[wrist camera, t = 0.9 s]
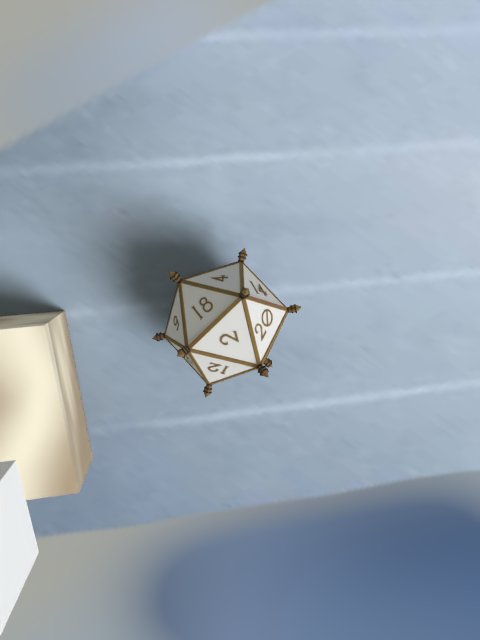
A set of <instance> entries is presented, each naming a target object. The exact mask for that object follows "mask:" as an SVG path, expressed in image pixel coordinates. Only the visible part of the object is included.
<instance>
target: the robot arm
mask: <svg viewBox="0 0 480 640" xmlns="http://www.w3.org/2000/svg"><path fill="white" fill-rule="evenodd" d="M38 553H39V551H38V547H37V543H36V539H35V535H34V531H33V527H32V523H31V519H30V515H29V511H28V507H27V503H26V499H25V495H24V491H23V487H22V483H21V479H20V475H19V471H18V467H17V463H16V460H12V461H4V462H0V635H1V633H2V631H3V629H4V626H5V624H6V622H7V620H8V618H9V616H10V613H11V611H12V609H13V607H14V605H15V603H16V600H17V598H18V596H19V594H20V592H21V589H22V587H23V585H24V583H25V581H26V579H27V577H28V574H29V572H30V570H31V568H32V566H33V564H34V561H35V559H36V557H37V555H38Z"/></svg>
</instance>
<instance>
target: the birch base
mask: <svg viewBox="0 0 480 640" xmlns="http://www.w3.org/2000/svg"><path fill="white" fill-rule="evenodd" d="M92 459H93V457H92V451H91V446H90V441H89V436H88V430H87V425H86V420H85V415H84V409H83V404H82V399H81V394H80V388H79V383H78V378H77V373H76V367H75V362H74V357H73V352H72V346H71V341H70V336H69V331H68V326H67V320H66V315H65V311H55V312H45V313H34V314H23V315H12V316H1V317H0V462H4V461H12V460H16V463H17V467H18V471H19V475H20V479H21V483H22V487H23V491H24V495H25V499H26V500H31V499H38V498H45V497H52V496H59V495H67V494H74V493H79V491H80V489H81V486H82V484H83V481H84V479H85V476H86V474H87V471H88V469H89V467H90V464H91V462H92Z"/></svg>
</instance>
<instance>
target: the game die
mask: <svg viewBox="0 0 480 640" xmlns="http://www.w3.org/2000/svg"><path fill="white" fill-rule="evenodd" d="M246 256H247V254H246V251H245V248H244V249H243V250H242V251H241V252H240V253H239V256H238V257H239V260H238V261H237V262H234V263H231V264H228V265H225V266H222V267H218V268H215V269H212V270H209V271H206V272H202V273H199V274H196V275H193V276H190V277H187V278H183V279H181V278H180V275H178V274H177V272H172V271H169V274H170V279H172V280H173V282H174V281H175V282H177V283H178V285H177V289H176V292H175V296H174V300H173V304H172V308H171V311H170V315H169V319H168V323H167V327H166V330H165V333H161V332H160V333H156V335H155V336H154V337H153V338H152V339H154V340H157V341H160V340H163V339H164V338H166V339H167V340H168V342H169V343H170V344H171V345H172V346H173V347H174V348H175V349H176V350H177V351H178V355H177V356H178V357H182V358H184V359H185V360H186V361H187V362H188V364H189V365H190V366H191V367H192V368H193V369H194V370H195V371H196V372H197V373H198V375H199V376H200V377H201V378H202V379H203V380H204V381H205V382H206V383H207V385H206V386H205V387H204V388H205V389H204V390H203V392H204V394H205V397H207V396H208V395H209V394H210V393H212V392H211V390H212V384H215V383H218V382H221V381H224V380H227V379H230V378H232V377H235V376H238V375H241V374H244V373H247V372H250V371H252V370H255V369H258V373H260V376H266V377H268V372H269V371H268V369H266V367H272V360H270V359H267V356H268V354H269V352H270V350H271V348H272V345H273V343H274V341H275V339H276V337H277V335H278V333H279V331H280V328H281V326H282V324H283V322H284V320H285V318H286V316H287V314H288V313H289V312H290V313H293V312H296V313H297V311H298V310H299V309H300V308H301V306H297V305H295V304H294V305H293V306H292V305H291V306H290V307H286V306H285V305H284V304H283V303H282V302H281V301H280V300H279V299H278V298H277V297H276V296H275V295H274V294H273V293H272V292H271V291H270V290H269V289H268V288H267V287H266V286H265V285H264V283H263V282H262V281H261V280H260V279H259V278H258V277H257V276H256V275H255V274H254V273H253V272H252V271H251V270H250V269H249V268H248V267H247V266H246V265H245V264H244V263H243V262H244V260H245V259H246ZM263 364H265V366H266V367H265V366H263Z"/></svg>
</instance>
